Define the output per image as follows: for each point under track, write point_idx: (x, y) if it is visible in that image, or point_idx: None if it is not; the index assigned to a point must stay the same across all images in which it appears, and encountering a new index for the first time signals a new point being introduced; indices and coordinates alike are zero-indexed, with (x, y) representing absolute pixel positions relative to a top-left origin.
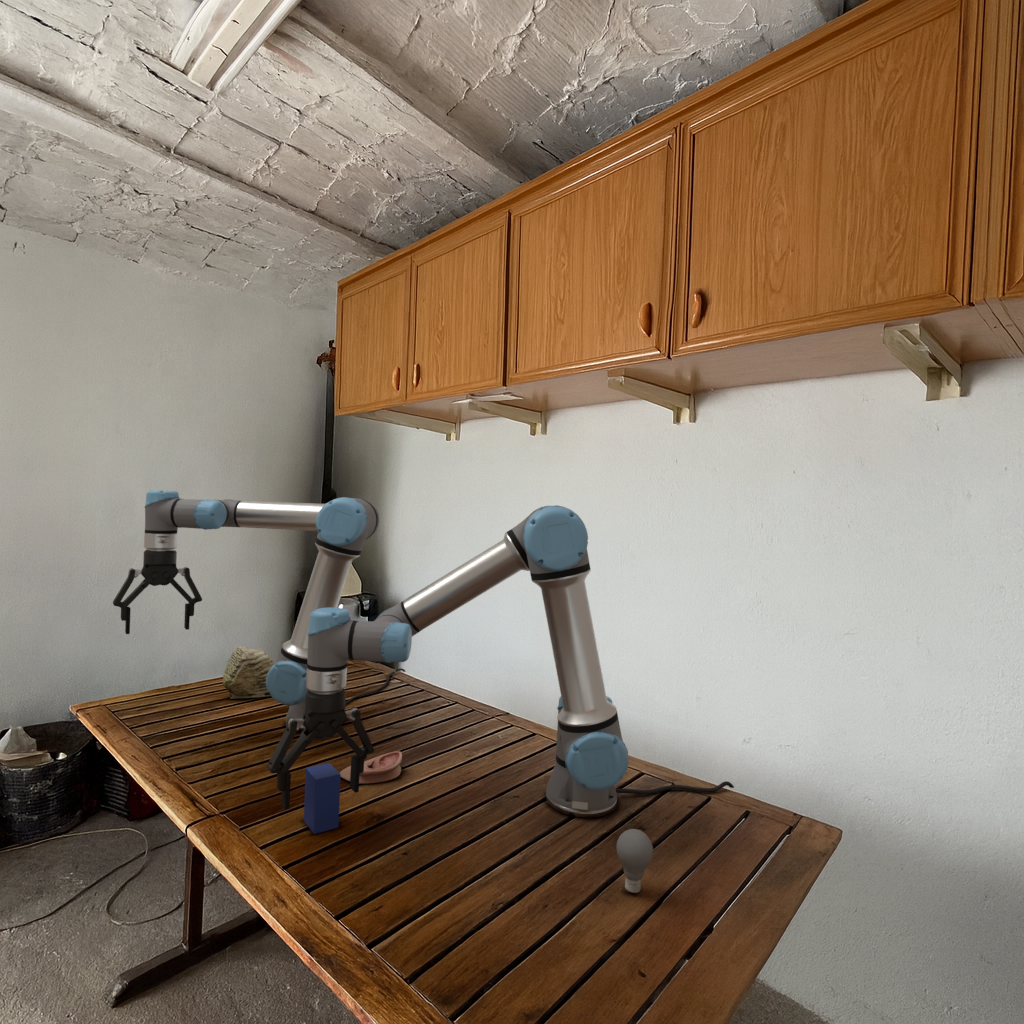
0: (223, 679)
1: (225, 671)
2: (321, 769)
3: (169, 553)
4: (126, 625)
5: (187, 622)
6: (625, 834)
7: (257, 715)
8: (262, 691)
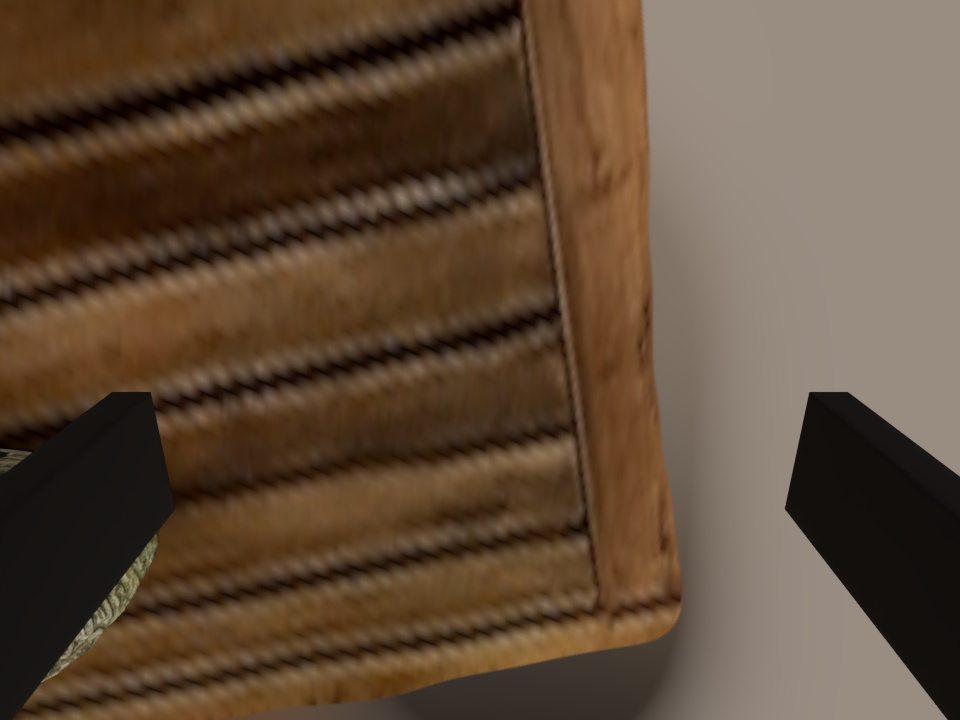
0: (147, 561)
1: (120, 595)
2: None
3: None
4: (921, 451)
5: (78, 438)
6: None
7: (45, 220)
8: (4, 464)
